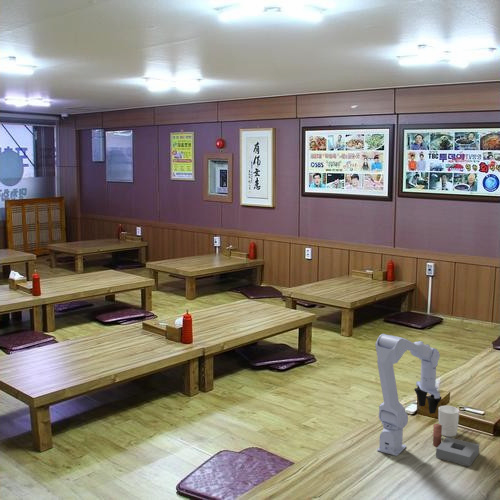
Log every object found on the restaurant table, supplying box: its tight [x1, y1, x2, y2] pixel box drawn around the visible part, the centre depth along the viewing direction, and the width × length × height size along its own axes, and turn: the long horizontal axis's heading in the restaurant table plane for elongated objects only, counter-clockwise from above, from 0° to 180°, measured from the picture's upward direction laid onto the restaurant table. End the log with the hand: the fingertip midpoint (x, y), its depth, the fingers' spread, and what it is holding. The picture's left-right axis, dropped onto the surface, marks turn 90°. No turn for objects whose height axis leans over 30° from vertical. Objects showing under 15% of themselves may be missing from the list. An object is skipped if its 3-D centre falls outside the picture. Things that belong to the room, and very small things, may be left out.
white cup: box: [437, 405, 460, 438], centre depth 241 cm, size 8×8×10 cm
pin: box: [432, 423, 443, 448], centre depth 231 cm, size 3×3×8 cm
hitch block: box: [435, 436, 480, 467], centre depth 223 cm, size 12×12×4 cm
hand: (427, 409), depth 242 cm, fingers open, 7 cm apart
